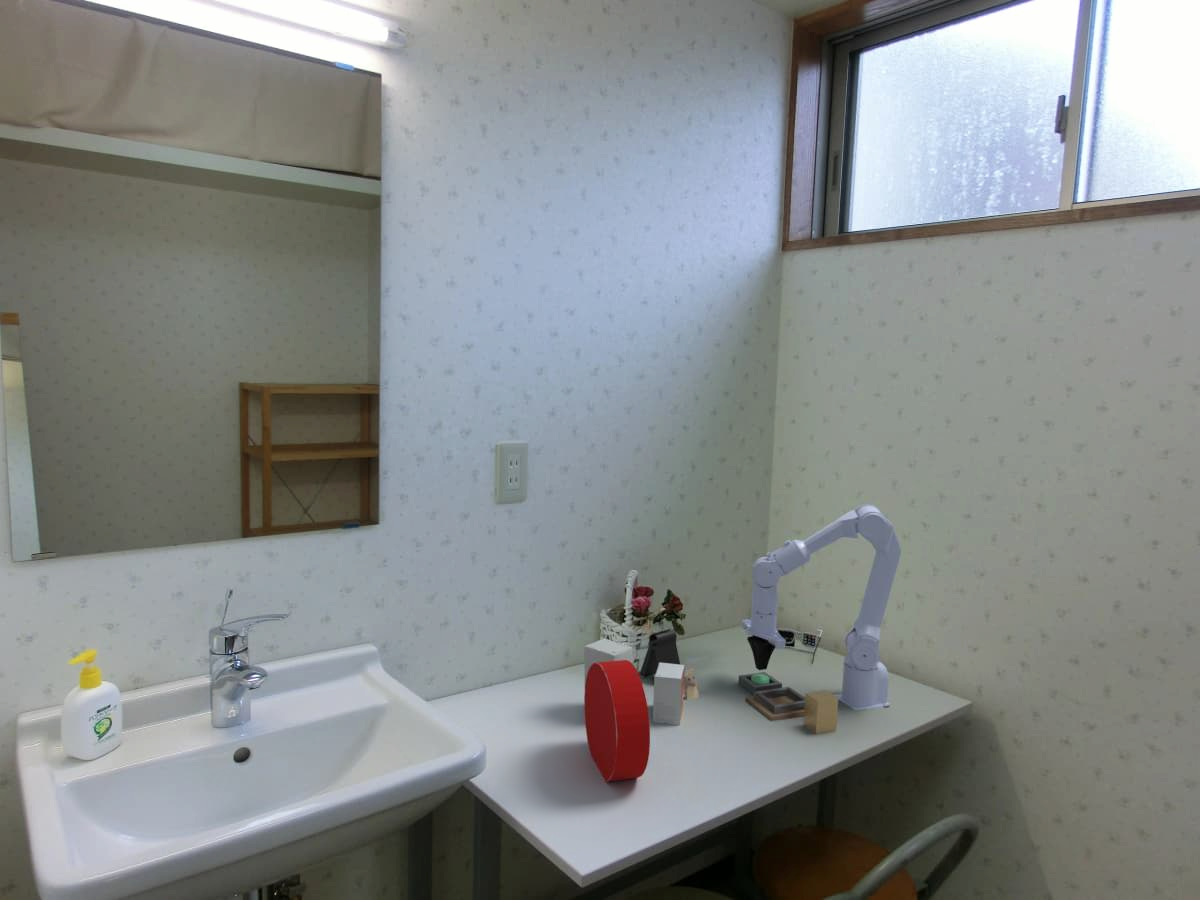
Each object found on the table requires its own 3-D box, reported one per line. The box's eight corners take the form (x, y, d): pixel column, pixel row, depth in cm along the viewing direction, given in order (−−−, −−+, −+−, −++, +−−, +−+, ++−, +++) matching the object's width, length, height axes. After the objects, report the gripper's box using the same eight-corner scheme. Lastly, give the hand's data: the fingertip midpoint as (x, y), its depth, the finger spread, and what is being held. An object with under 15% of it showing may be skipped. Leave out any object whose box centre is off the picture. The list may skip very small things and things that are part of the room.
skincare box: (632, 720, 159) (635, 647, 157) (611, 730, 154) (614, 655, 152) (603, 707, 164) (605, 636, 163) (581, 716, 160) (583, 644, 158)
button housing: (764, 680, 181) (764, 672, 181) (781, 693, 174) (782, 683, 174) (738, 684, 178) (738, 675, 178) (755, 697, 172) (755, 687, 172)
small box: (679, 729, 155) (681, 679, 154) (652, 725, 157) (654, 676, 155) (683, 712, 163) (685, 664, 162) (657, 709, 164) (659, 661, 163)
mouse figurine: (679, 687, 176) (680, 659, 175) (704, 699, 170) (705, 670, 169) (662, 692, 173) (663, 663, 172) (687, 705, 167) (689, 675, 166)
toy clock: (647, 800, 129) (652, 686, 127) (614, 805, 128) (618, 689, 126) (612, 744, 148) (615, 643, 146) (582, 747, 147) (585, 646, 145)
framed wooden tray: (790, 694, 174) (791, 684, 173) (819, 713, 164) (819, 702, 164) (745, 701, 169) (745, 690, 169) (771, 721, 160) (772, 710, 160)
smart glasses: (823, 645, 204) (823, 628, 203) (813, 673, 192) (814, 655, 190) (777, 637, 209) (777, 620, 208) (765, 664, 196) (766, 646, 195)
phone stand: (684, 685, 177) (686, 634, 176) (665, 691, 173) (667, 640, 172) (656, 672, 184) (658, 623, 183) (638, 678, 180) (640, 628, 179)
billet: (823, 722, 161) (825, 690, 160) (836, 730, 157) (838, 697, 156) (803, 725, 159) (805, 693, 158) (815, 734, 155) (818, 701, 154)
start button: (762, 681, 179) (762, 672, 179) (772, 688, 175) (772, 679, 175) (747, 684, 177) (748, 674, 177) (757, 691, 174) (757, 681, 174)
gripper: (731, 603, 180) (729, 659, 181) (767, 622, 166) (764, 683, 168) (757, 600, 182) (755, 655, 184) (794, 619, 169) (791, 679, 170)
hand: (761, 668), depth 176 cm, fingers closed
